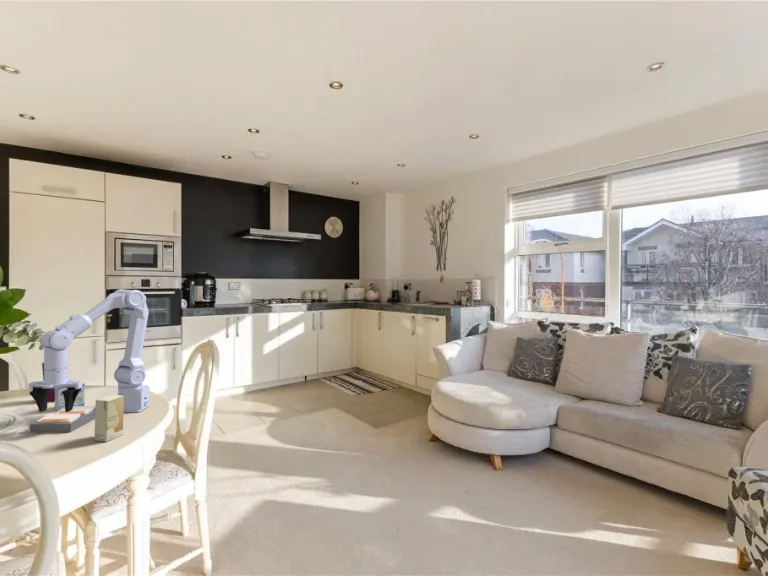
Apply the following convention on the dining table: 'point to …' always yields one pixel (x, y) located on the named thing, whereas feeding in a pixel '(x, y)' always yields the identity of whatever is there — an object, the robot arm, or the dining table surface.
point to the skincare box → (109, 417)
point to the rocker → (59, 418)
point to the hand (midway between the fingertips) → (56, 411)
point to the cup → (51, 392)
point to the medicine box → (61, 402)
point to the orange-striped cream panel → (77, 410)
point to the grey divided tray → (61, 424)
